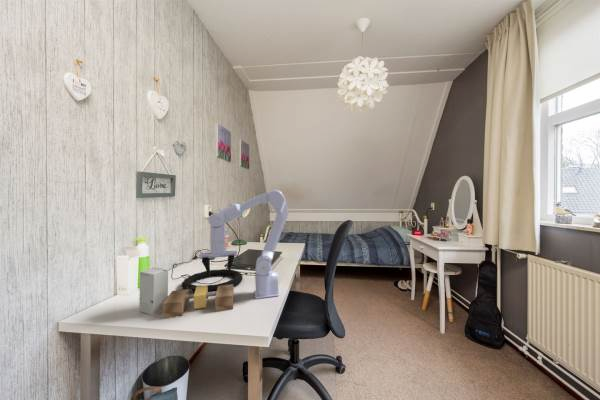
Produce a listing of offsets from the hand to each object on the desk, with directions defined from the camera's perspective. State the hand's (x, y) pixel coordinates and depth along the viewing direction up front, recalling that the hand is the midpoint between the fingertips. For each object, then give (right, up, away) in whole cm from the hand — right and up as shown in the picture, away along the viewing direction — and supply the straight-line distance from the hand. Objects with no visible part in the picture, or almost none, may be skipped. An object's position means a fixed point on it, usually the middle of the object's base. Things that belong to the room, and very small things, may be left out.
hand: (219, 275), depth 96 cm
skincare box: (-21, -10, -10) cm, 25 cm away
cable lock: (-9, -10, +16) cm, 21 cm away
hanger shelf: (-4, -10, -7) cm, 13 cm away
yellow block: (-4, -9, -7) cm, 12 cm away
